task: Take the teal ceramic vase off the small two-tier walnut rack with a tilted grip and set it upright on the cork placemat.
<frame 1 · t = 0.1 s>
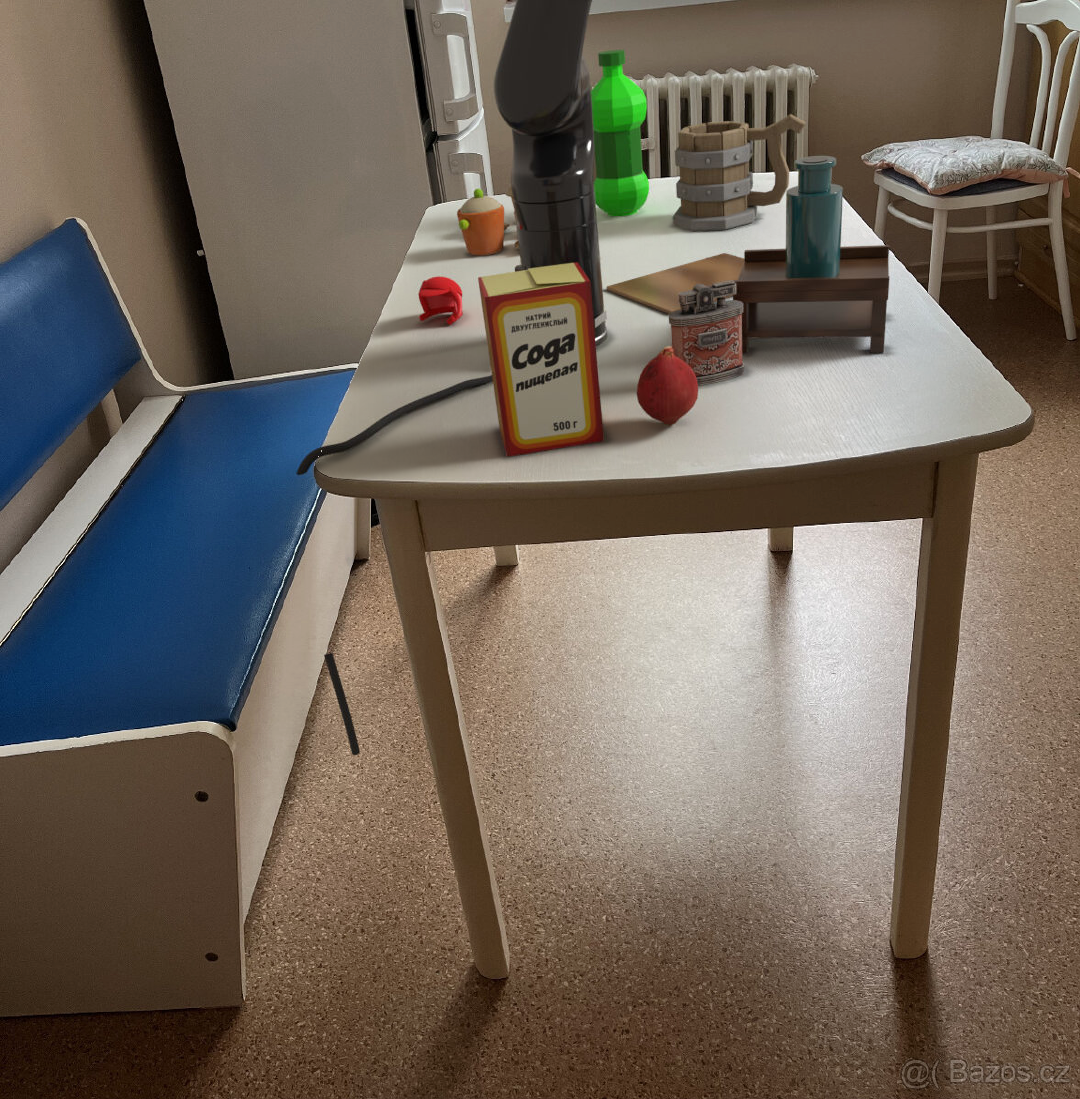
onion: (669, 426, 101), on the table
baking soda box: (550, 437, 102), on the table
lighter: (708, 379, 110), on the table
plastic bottle: (622, 213, 176), on the table
toy tea set: (510, 238, 170), on the table
red toy helmet: (443, 322, 136), on the table
vase: (812, 273, 114), point 7 cm above the table, touching rack
placemat: (699, 283, 138), on the table
tankard: (738, 220, 164), on the table
rack: (810, 334, 117), on the table
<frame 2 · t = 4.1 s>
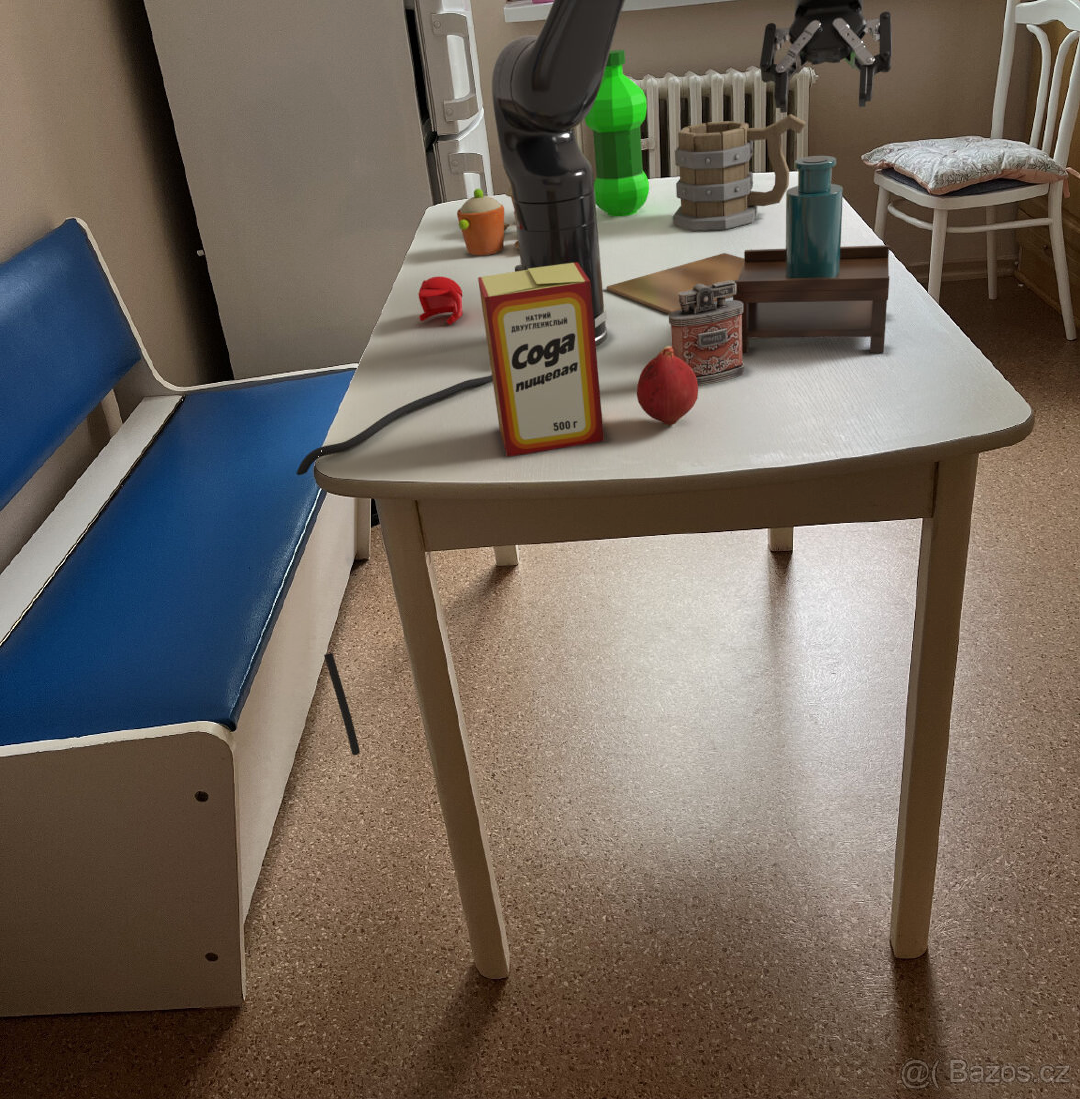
hand: (822, 105, 115), 22 cm above the table, tool tilted 45°, fingers open, 8 cm apart
nothing on the table moved.
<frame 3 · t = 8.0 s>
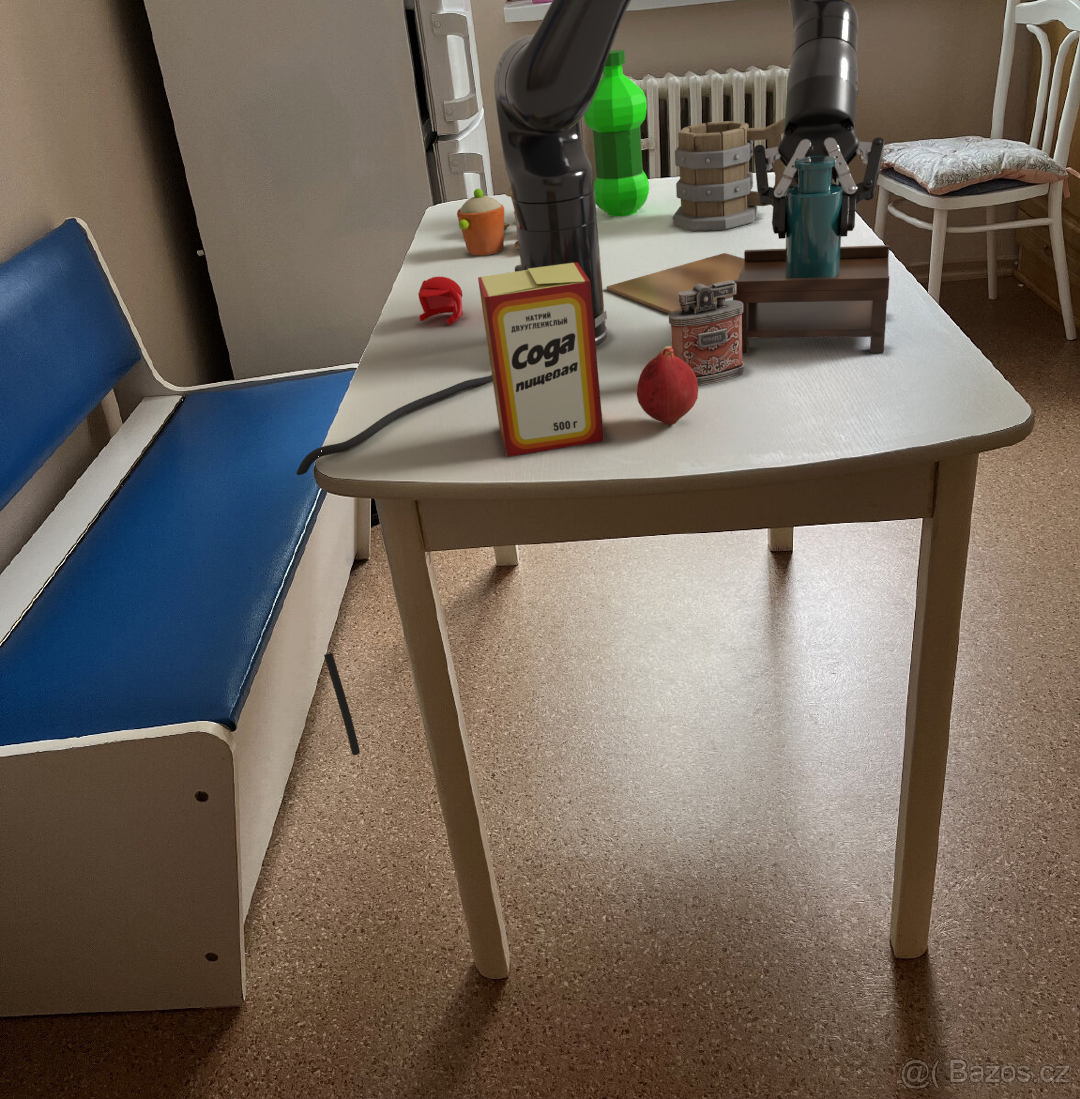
hand: (812, 233, 110), 12 cm above the table, tool tilted 45°, fingers closed on vase, 6 cm apart
vase: (812, 273, 114), point 7 cm above the table, touching gripper, rack
everything else where it was.
when the fingers open (5 cm above the table, at t = 19.8 s): vase stays where it is, resting on placemat.
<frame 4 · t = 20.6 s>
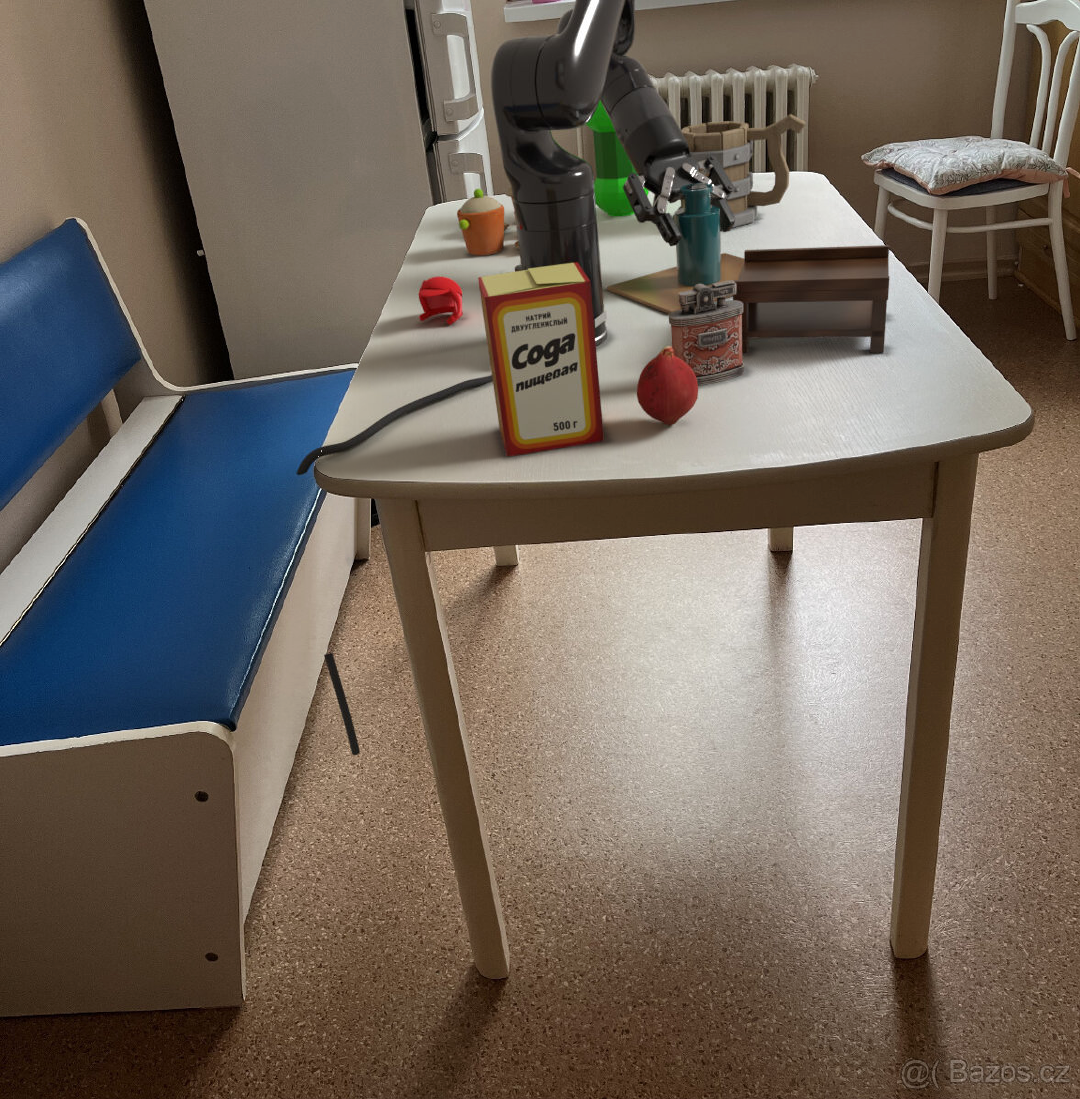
hand: (703, 235, 133), 7 cm above the table, tool tilted 45°, fingers open, 8 cm apart
vase: (699, 279, 138), resting on placemat
everything else where it was.
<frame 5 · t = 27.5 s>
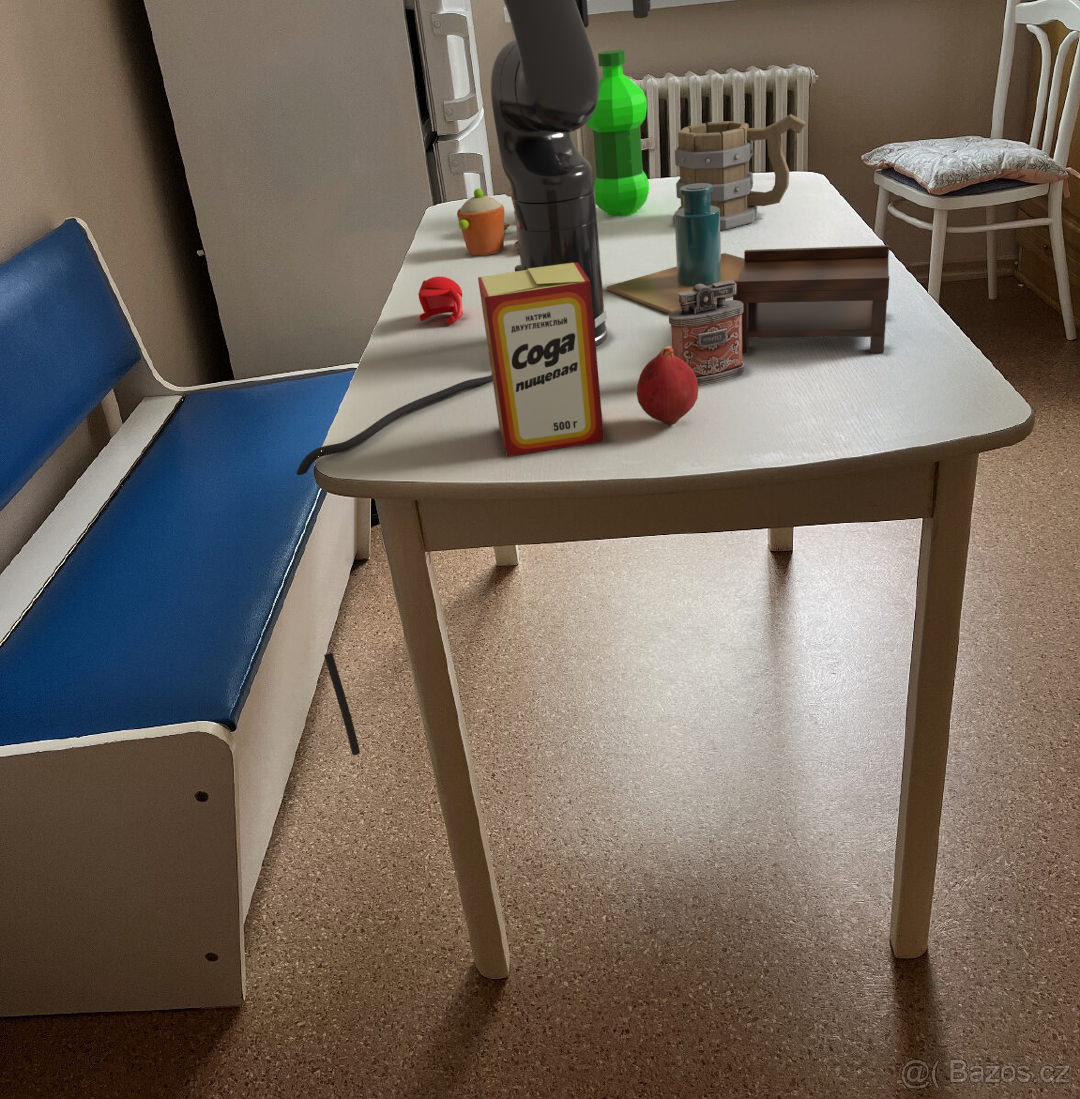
hand: (611, 22, 125), 32 cm above the table, tool pointing down, fingers open, 8 cm apart
nothing on the table moved.
at the end: vase inside the target area on the placemat (0.1 cm from its centre), point 0.5 cm above the placemat's base; vase tilted 0°; vase touching placemat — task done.
